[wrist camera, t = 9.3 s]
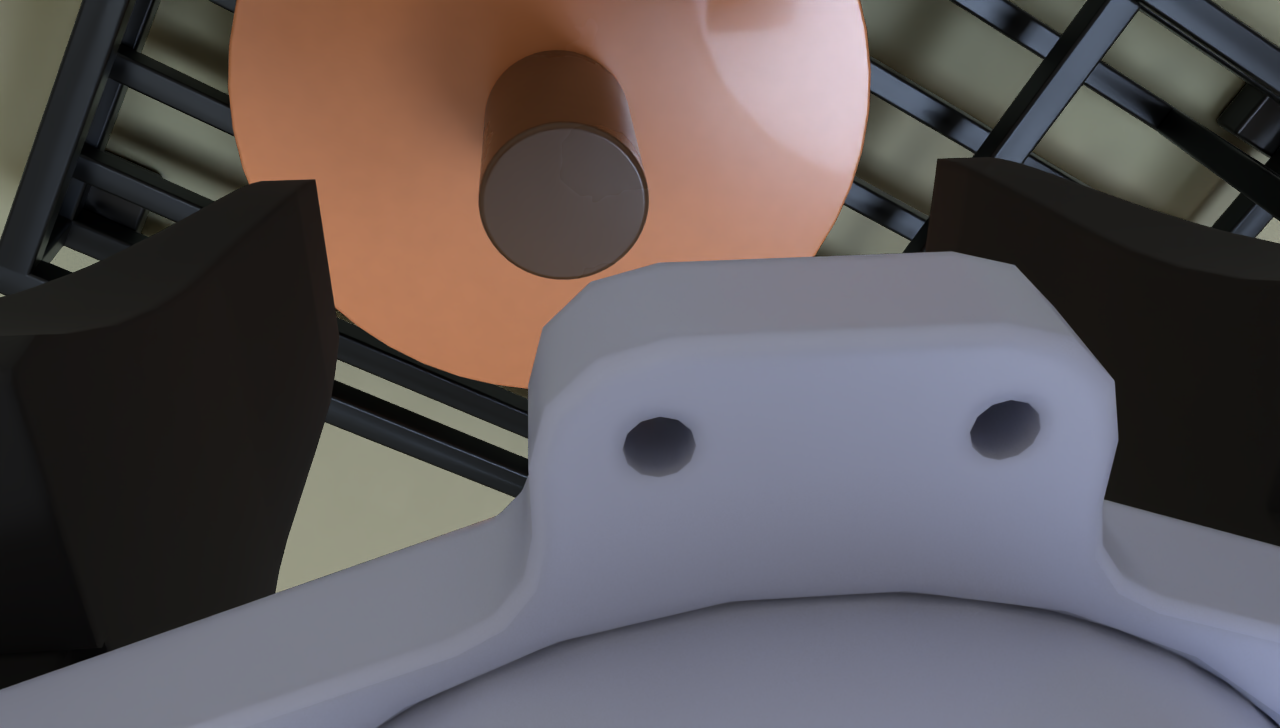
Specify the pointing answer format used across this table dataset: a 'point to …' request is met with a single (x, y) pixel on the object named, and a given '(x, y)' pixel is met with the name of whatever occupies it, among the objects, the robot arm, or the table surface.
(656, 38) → the lid
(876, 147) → the table surface
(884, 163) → the table surface
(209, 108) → the dish rack
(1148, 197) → the table surface
